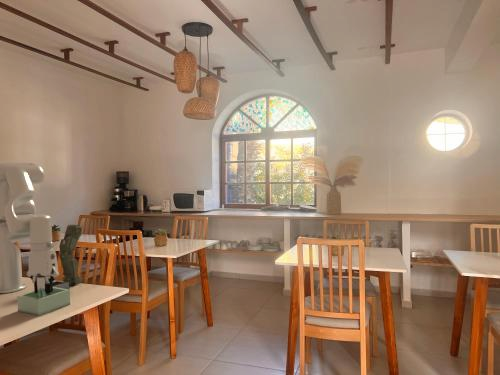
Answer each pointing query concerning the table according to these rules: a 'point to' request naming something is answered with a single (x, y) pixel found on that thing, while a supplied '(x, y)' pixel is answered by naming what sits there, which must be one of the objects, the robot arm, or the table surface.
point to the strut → (41, 286)
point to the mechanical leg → (70, 254)
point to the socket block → (61, 284)
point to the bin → (43, 301)
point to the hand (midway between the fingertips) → (43, 292)
